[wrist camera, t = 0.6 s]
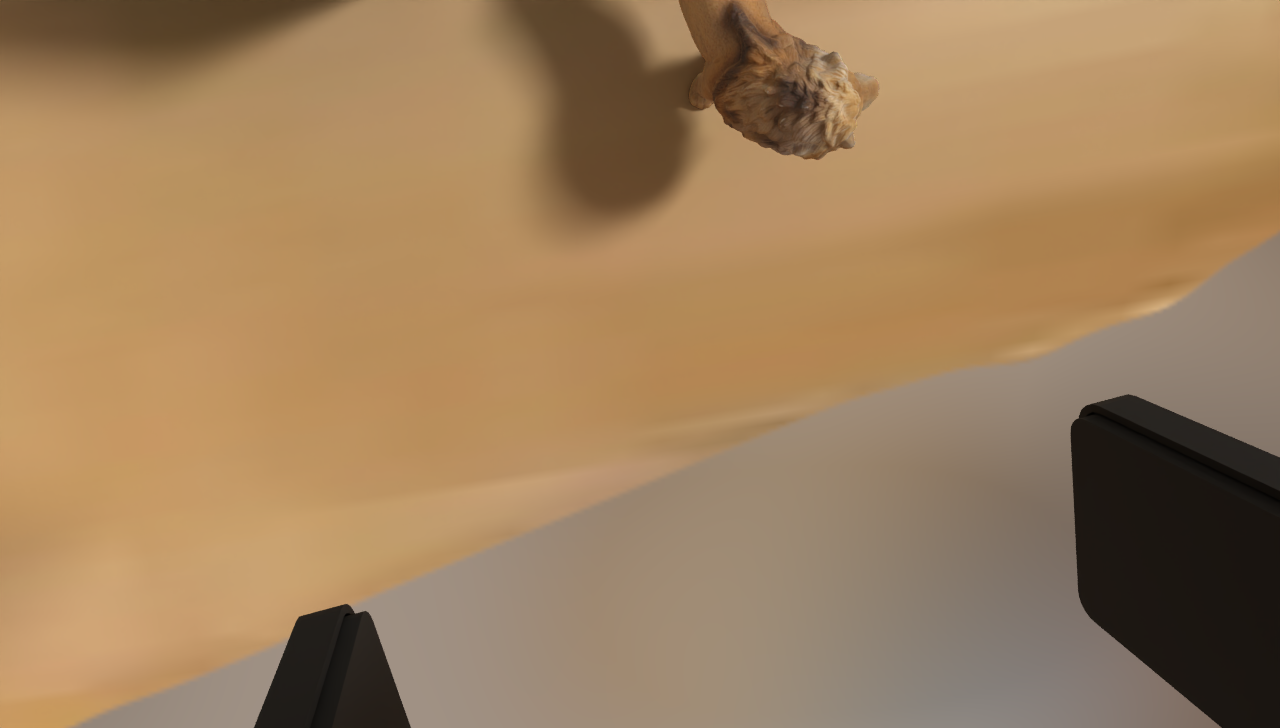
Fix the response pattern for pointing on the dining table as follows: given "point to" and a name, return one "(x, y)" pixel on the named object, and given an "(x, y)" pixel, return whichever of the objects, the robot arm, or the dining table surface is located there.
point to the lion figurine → (773, 80)
